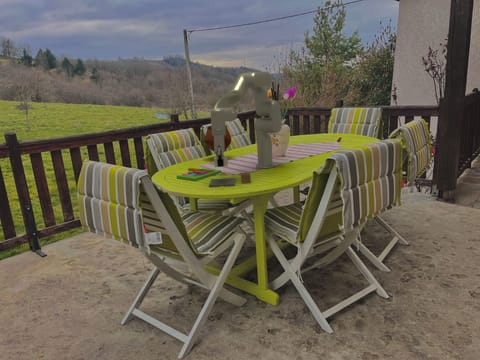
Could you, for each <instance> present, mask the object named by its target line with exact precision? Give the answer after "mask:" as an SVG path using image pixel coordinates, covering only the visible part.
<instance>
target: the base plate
mask: <svg viewBox="0 0 480 360" xmlns="http://www.w3.org/2000/svg"><path fill="white" fill-rule="evenodd" d="M236 180H237V178H236V177H228V178H225V177H224V178H212V179H211V180H210V182H209V184H208V188H219V187H220V186H224V187H235V186H236ZM220 188H221V187H220Z"/></svg>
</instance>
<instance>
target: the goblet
mask: <svg viewBox="0 0 480 360" xmlns="http://www.w3.org/2000/svg"><path fill="white" fill-rule="evenodd" d="M225 126H226V135H224V146H225V149H224V152H225V151H226V150H227V149H228V148H229V147H230V145H231V143H232V136H231V134H230V133H231V132H230V131H229V128H228V125H226V124H225ZM206 128H207V129H206V133H205V135H204V144H205V145H206V147H207V148H208V149H209V150H210V151H212V152H214V136H212V126H211V125H209V126H207V127H206ZM215 155H216V156H217V153H216V154H215ZM216 156H215V157H216Z"/></svg>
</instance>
